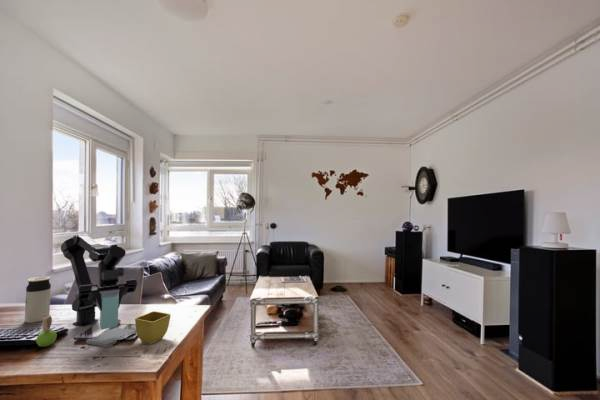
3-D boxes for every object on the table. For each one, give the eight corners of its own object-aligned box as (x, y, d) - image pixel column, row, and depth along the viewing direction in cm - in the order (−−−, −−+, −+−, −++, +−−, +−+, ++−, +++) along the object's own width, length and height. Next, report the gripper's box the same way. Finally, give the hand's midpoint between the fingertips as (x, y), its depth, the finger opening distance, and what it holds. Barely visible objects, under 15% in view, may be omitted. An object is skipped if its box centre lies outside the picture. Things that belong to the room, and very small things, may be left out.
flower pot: (170, 337, 109) (171, 313, 110) (152, 347, 101) (152, 322, 101) (152, 334, 112) (153, 310, 112) (133, 343, 104) (134, 318, 104)
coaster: (85, 343, 103) (86, 340, 104) (115, 330, 115) (115, 327, 115) (107, 347, 101) (107, 343, 101) (135, 333, 112) (135, 330, 112)
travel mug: (51, 315, 130) (53, 275, 131) (45, 321, 123) (47, 279, 124) (29, 318, 127) (31, 277, 127) (21, 324, 119) (23, 281, 120)
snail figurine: (32, 352, 97) (34, 316, 97) (38, 344, 102) (40, 310, 103) (52, 348, 99) (54, 313, 100) (58, 341, 105) (59, 308, 105)
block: (99, 325, 106) (101, 295, 107) (115, 322, 109) (116, 293, 110) (101, 329, 102) (102, 298, 103) (117, 326, 106) (118, 296, 106)
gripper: (79, 263, 104) (79, 302, 95) (137, 258, 116) (142, 292, 107) (77, 280, 109) (77, 318, 101) (132, 274, 122) (136, 308, 113)
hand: (109, 308), depth 105 cm, fingers closed on block, 5 cm apart
